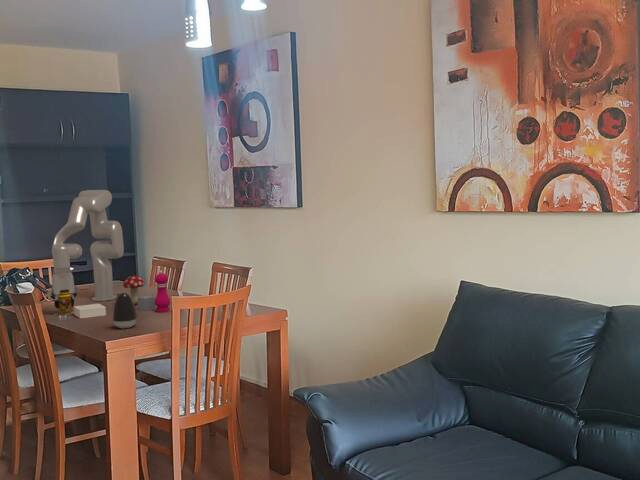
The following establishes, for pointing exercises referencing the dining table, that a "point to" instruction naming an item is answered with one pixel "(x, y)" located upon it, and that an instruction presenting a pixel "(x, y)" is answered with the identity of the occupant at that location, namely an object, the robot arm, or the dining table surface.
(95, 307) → the cream block
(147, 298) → the slate cube
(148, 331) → the dining table surface
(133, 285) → the decorative mushroom
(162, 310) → the pepper mill
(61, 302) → the condiment
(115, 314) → the dark grey domed cylinder
